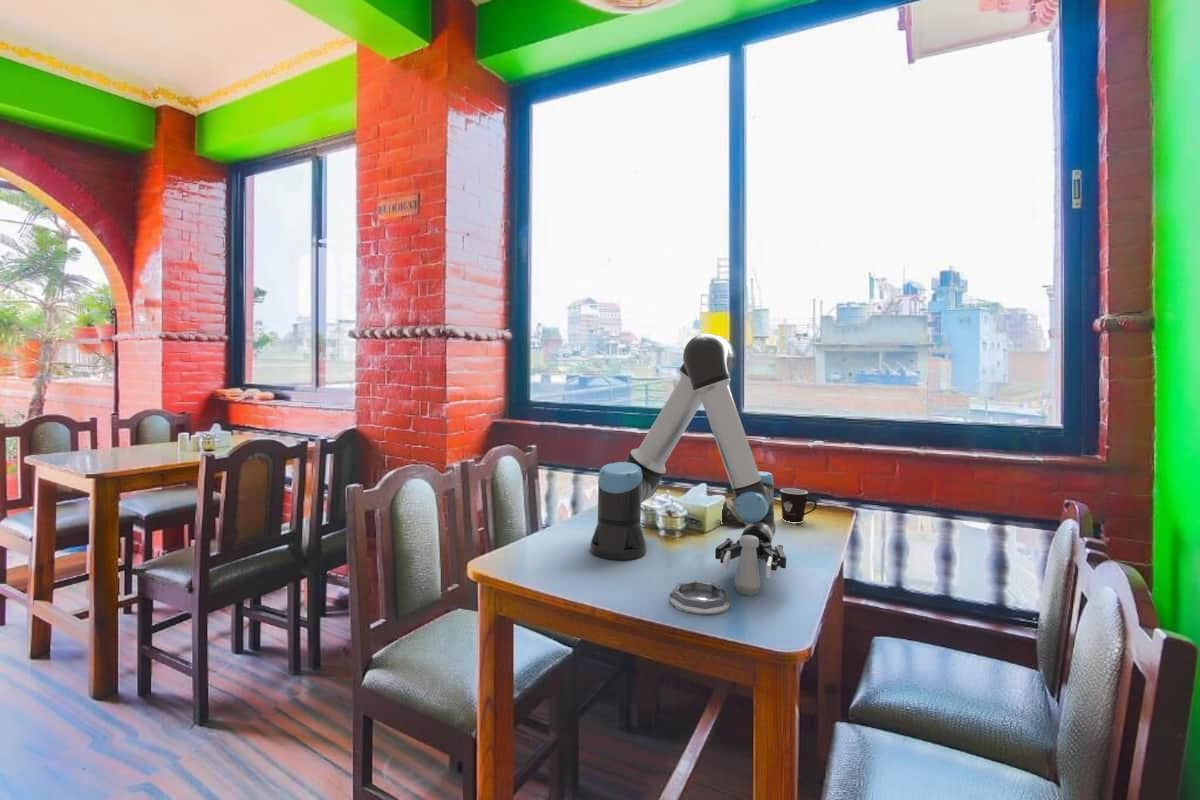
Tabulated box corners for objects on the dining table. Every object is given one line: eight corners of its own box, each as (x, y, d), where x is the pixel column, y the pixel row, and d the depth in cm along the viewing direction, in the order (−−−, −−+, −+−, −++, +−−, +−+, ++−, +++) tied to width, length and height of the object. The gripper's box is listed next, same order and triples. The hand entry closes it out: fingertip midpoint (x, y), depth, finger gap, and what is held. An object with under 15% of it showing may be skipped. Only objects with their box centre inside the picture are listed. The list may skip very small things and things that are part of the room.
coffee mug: (773, 518, 200) (775, 489, 199) (795, 516, 202) (797, 487, 201) (794, 528, 189) (796, 497, 188) (817, 526, 191) (819, 495, 190)
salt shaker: (741, 585, 139) (743, 530, 139) (764, 591, 136) (766, 536, 135) (729, 592, 135) (732, 536, 134) (753, 599, 131) (755, 541, 130)
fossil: (753, 527, 186) (738, 499, 186) (726, 538, 188) (712, 510, 188) (751, 517, 197) (738, 490, 197) (726, 528, 199) (713, 501, 199)
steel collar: (663, 608, 125) (663, 597, 125) (676, 586, 137) (677, 576, 137) (725, 619, 121) (725, 607, 121) (733, 595, 133) (734, 585, 133)
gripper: (799, 560, 148) (796, 593, 127) (713, 548, 156) (697, 577, 135) (801, 530, 148) (798, 558, 127) (714, 520, 155) (698, 545, 134)
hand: (746, 568), depth 131 cm, fingers open, 9 cm apart
